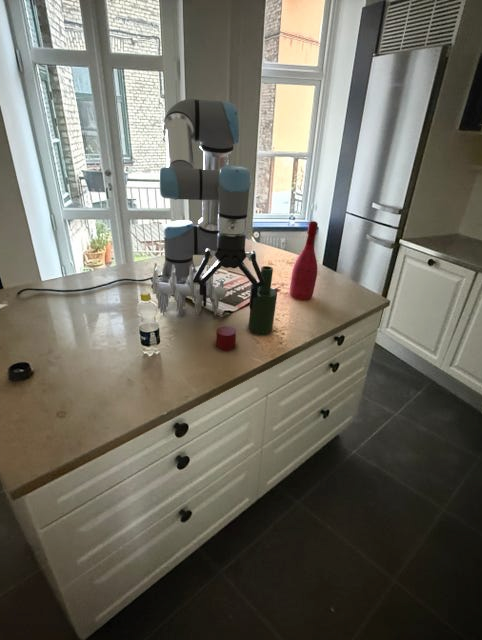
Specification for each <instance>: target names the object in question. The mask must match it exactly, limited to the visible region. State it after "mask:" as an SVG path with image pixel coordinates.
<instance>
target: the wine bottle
mask: <svg viewBox="0 0 482 640" xmlns="http://www.w3.org/2000/svg"><path fill="white" fill-rule="evenodd" d="M317 230H318V222H317V221H315V220H311V221H308V228H307V231H306V234H307V237H306V241H305V244H304V246H303V248H302V250H301V252H300V253H299V254H298V257H297V258H296V259H295V262H294V265H293V267H292V272H291V278H290V285H289V296H290V297H291V298H292V299H294V300H297V301H309V300H311V299H312V298H313V295H314V290H315V287H316V282H317V278H318V261H317V257H316V252H315V239H316V238H315V237H316V234H317Z"/></svg>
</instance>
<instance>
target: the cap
mask: <svg viewBox="0 0 482 640" xmlns="http://www.w3.org/2000/svg"><path fill="white" fill-rule="evenodd" d="M215 337H216V339H215V347H216V348H217V349H218V350H219V351H222V352H230V351H233V350H234V349H235V347H236V339H237V330H236V329H235V328H234V327H233V326H228V325H222V326H219V327H218V328H217V329H216V335H215Z"/></svg>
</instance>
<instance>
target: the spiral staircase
mask: <svg viewBox="0 0 482 640" xmlns="http://www.w3.org/2000/svg"><path fill="white" fill-rule="evenodd" d="M210 268H211V265H210V264H209V265H206V272H207V271H208V270H209V269H210ZM193 270H194V267H193V264H191V266H190V270H189V275H188V280H186V283H185V284H176V276H175V265H173V264H172V273H171V277H170V279H169V283H167V282H159V278H158V276H159V273H158V264H157V262H155V263H154V267H153V275H152V277H153V279H152V294H153V295H155V297H156V299H157V309H158V310H159V313H160V314H162V316H165V313H167V308H169V304H170V299H171V296H173V300H174V301H175V303H176V309H175V310H176V312H178V313H177V314H178V316H181V317H182V316H183V313H184V308H185V307H186V299H187V298H188V297H191V299H193V302H194V308H195V311H196V314H197V317H199V316H200V314H201V310H203V295H200V285H199V284H198V285H197V283H194V282H193V278H194V276H195V272H194V273H193ZM206 272H205V273H206ZM206 282H207V291H206V299H209V301H210V303H211V306H212V311H213V315H214V316H213V317H217V315H218V310H219V305H220V300H226V287H224V286H225V285H224V284H225V280H224V279H223V278H220V282H219V284H218V285H217V286H215V285H214V274H213V275H212V276H211V277H210V278H209V279H208V280H207V281H206Z"/></svg>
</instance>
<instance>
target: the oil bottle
mask: <svg viewBox="0 0 482 640" xmlns="http://www.w3.org/2000/svg"><path fill="white" fill-rule="evenodd" d="M260 271H261V274H262V276H263V279H264V282H265V285H264V286H260V287H259V288H258V294H257V298H253V307H252V309H250V308H249V316H248V328H247V329H248V331H249V332H250V333H251V334H253V335H256V336H268V335H270V334H271V333H272V332H273V328H274V322H275V321H274V320H275V314H276V306H277V298H278V292H277V290H276V289H274V288H272V281H273V272H274V268H273V267H272V266H269V265H264V266H261V268H260Z"/></svg>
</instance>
